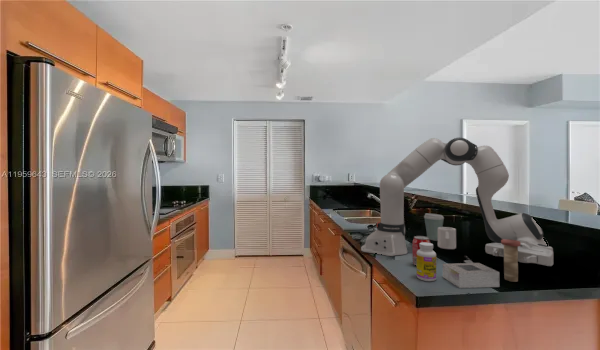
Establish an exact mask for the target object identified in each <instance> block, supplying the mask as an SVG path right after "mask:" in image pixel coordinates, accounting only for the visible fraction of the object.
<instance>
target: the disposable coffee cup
mask: <svg viewBox="0 0 600 350" xmlns="http://www.w3.org/2000/svg"><path fill="white" fill-rule="evenodd" d="M423 218H424V223H425V229H426V237H428V238H429V241H435V242H438V228H439V227H444V226H443V225H444V219H445V217H444V216H443V215H442V214H437V213H424V215H423Z"/></svg>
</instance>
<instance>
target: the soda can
mask: <svg viewBox="0 0 600 350" xmlns="http://www.w3.org/2000/svg"><path fill="white" fill-rule="evenodd" d="M422 242H426V243H431V240H429V238H428V237H427V236H424V235H416V236H415V235H414V236H413V240H412V247H411V248H412V263H413V265H414V266H415V265H416V266H415V267H417V251H418V250H419V249H420V247H419V243H422Z"/></svg>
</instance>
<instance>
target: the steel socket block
mask: <svg viewBox="0 0 600 350" xmlns="http://www.w3.org/2000/svg"><path fill="white" fill-rule="evenodd" d="M442 278H443V279H445V280H447V281H448V282H449V283H451V284H453V285H454V286H455V287H457V288H458V289H469V288H470V289H471V288H472V289H474V288H500V287H501V286H500V271H498V270H496V269H493V268H492V267H489V266H487V265H486V264H485V265H484V264H482V263H480V262H473V263H466V262H463V263H461V262H460V263H459V262H458V263H442Z"/></svg>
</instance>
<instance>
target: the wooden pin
mask: <svg viewBox="0 0 600 350" xmlns="http://www.w3.org/2000/svg"><path fill="white" fill-rule="evenodd" d="M501 244H503V245H504V257H503V274H504V275H503V276H504V277H503V279H504V280H505V281H509V282H514V283H516V282H519V263H518V262H519V261H518V246H521V242H520V241H517V240H510V239H502V240H501Z"/></svg>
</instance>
